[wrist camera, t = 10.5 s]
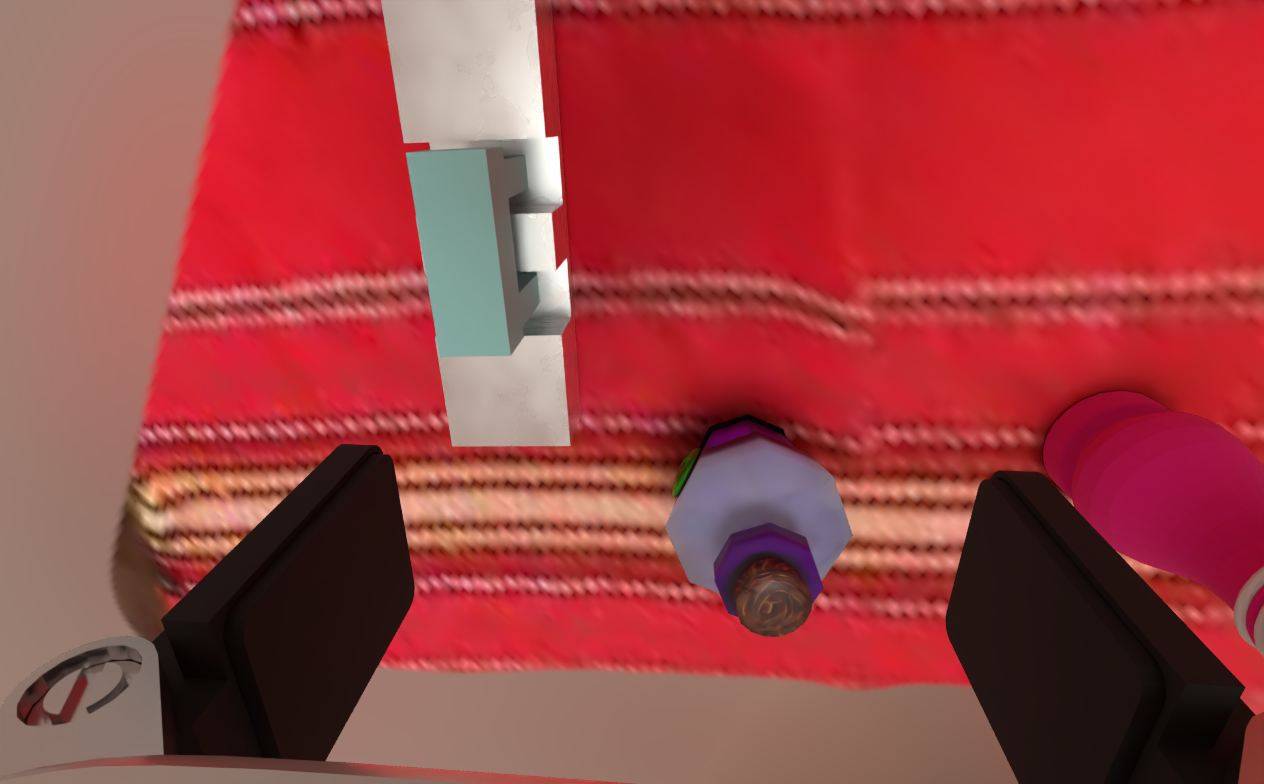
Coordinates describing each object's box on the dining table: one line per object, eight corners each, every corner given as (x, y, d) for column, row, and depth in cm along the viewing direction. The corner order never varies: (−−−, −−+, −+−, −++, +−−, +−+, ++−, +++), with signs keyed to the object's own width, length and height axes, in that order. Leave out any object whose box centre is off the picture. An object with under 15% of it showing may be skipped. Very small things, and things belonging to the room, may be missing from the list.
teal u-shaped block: (460, 146, 30) (405, 152, 24) (524, 143, 30) (485, 149, 24) (482, 314, 33) (439, 357, 27) (540, 312, 33) (510, 355, 27)
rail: (416, 0, 29) (378, -17, 25) (551, -7, 28) (532, -26, 24) (474, 413, 36) (452, 446, 33) (581, 412, 36) (570, 445, 32)
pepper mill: (1003, 448, 35) (1363, 811, 17) (1121, 353, 33) (1696, 653, 14) (1087, 523, 37) (1504, 933, 18) (1206, 437, 34) (1828, 809, 16)
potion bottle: (669, 386, 35) (666, 509, 24) (831, 391, 34) (904, 519, 23) (664, 521, 38) (660, 684, 27) (812, 527, 38) (869, 696, 27)
